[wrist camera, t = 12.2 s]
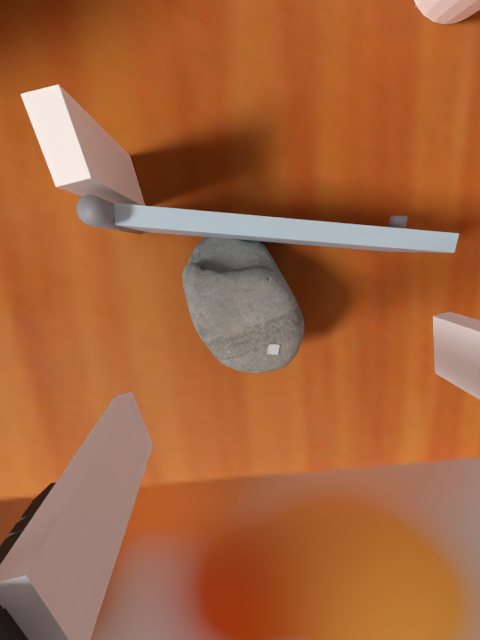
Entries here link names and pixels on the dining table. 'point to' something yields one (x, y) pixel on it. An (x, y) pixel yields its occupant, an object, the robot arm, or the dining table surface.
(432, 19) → the cup
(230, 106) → the dining table surface
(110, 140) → the tilted pink plank
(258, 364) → the stone
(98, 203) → the door
